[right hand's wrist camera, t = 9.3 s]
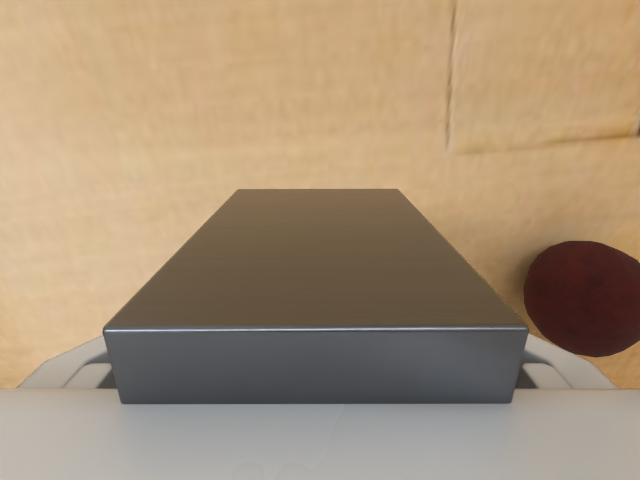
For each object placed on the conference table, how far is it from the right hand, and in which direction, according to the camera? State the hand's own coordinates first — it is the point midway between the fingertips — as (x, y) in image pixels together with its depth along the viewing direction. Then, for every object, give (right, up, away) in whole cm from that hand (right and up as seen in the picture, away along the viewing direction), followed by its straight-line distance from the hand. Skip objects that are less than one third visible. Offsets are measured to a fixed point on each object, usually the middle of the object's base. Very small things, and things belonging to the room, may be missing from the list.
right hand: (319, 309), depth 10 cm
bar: (0, -7, +6) cm, 9 cm away
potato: (+18, 0, +17) cm, 25 cm away
